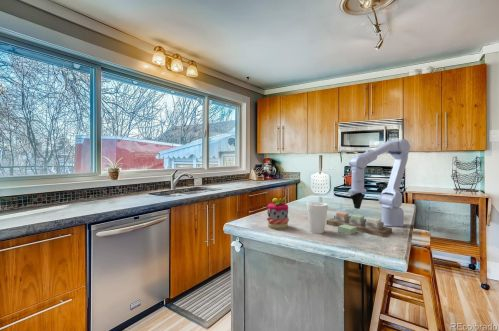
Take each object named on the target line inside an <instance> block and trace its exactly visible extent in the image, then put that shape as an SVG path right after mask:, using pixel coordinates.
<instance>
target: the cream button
mask: <svg viewBox="0 0 499 331" xmlns="http://www.w3.org/2000/svg"><path fill="white" fill-rule="evenodd" d="M366 221H367V222H369V223H374V224H379V223H381V221H382V218H378V217H369V218H367V219H366Z"/></svg>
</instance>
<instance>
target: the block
mask: <svg viewBox="0 0 499 331" xmlns="http://www.w3.org/2000/svg"><path fill="white" fill-rule="evenodd" d="M337 232H338V233H341V234H346V235H353V234H355V233H357V232H358V231H357V227H355V226H350V225H346V224H344V225H341V226H338V227H337Z"/></svg>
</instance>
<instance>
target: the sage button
mask: <svg viewBox="0 0 499 331" xmlns="http://www.w3.org/2000/svg"><path fill="white" fill-rule="evenodd" d="M350 216H351V219H353V220H359V221H361V220H364V219H365V216H364V215H361V214H353V215H350Z"/></svg>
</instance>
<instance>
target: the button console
mask: <svg viewBox="0 0 499 331" xmlns="http://www.w3.org/2000/svg"><path fill="white" fill-rule="evenodd" d="M351 216H352V215H349V217H345V218H343V217H338V216H336V215H333V218H329V219H326V225H329V226H333V227H337V228H338V226H341V225H344V224H346V225H350V226H355V227H357V232H359V233H365V234H369V235H373V236H377V237H382V238H384V237H386V236H389V235H390V234H392V233H393V228H392V227H389V226H384V222H381V223H379V224H374V223H369V222H367V219H366V218H364V220H361V221H359V220H353V219H351Z"/></svg>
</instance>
